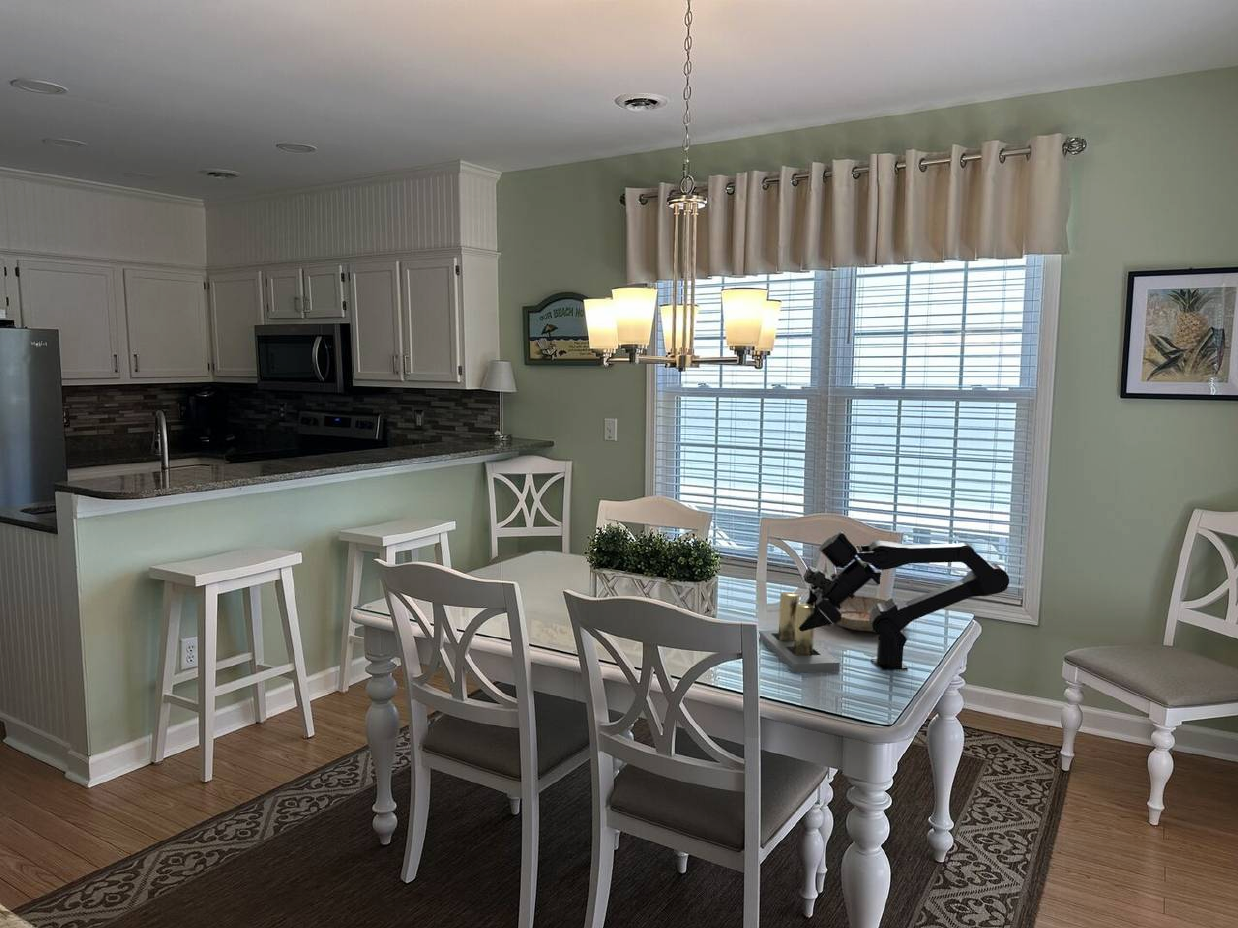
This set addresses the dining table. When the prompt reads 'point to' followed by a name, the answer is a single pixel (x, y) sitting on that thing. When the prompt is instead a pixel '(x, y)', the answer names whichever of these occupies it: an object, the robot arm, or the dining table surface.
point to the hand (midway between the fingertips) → (798, 623)
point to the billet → (787, 616)
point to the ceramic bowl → (858, 612)
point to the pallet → (799, 664)
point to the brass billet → (803, 632)
